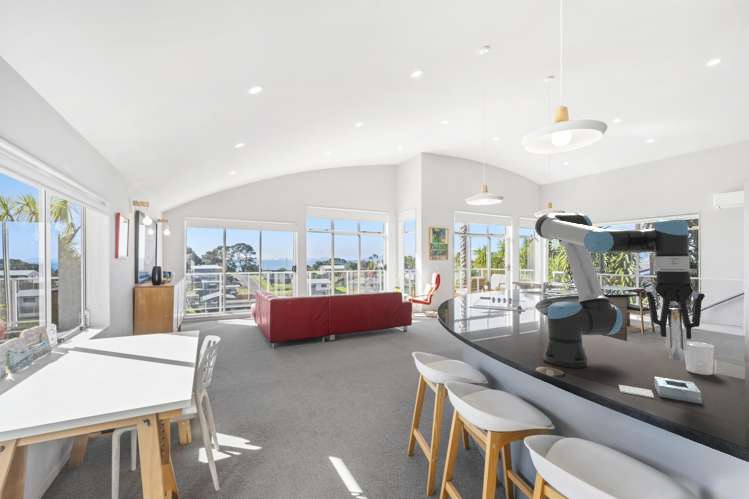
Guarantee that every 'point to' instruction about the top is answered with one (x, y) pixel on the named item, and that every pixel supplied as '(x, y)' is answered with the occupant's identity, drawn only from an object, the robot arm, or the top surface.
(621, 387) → the mat
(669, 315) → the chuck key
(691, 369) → the white cup
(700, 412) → the top surface
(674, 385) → the block
